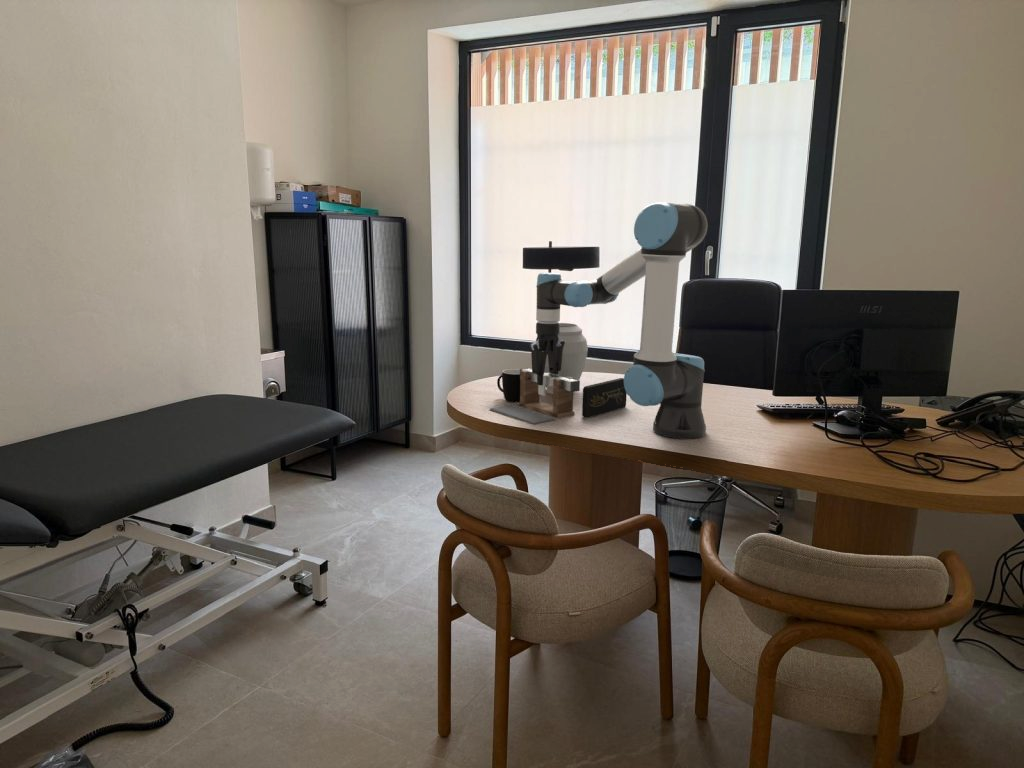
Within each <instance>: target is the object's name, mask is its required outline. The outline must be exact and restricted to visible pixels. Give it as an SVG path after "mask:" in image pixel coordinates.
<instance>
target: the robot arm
mask: <svg viewBox="0 0 1024 768" xmlns="http://www.w3.org/2000/svg"><path fill="white" fill-rule="evenodd" d="M638 213H639V214H638V215H637V217H636V219H635V222H634V226H633V234H634V238H635V240H636V241H637V244H638V245H639V246H640V248H638V249H637V250H636V251H634V252H633V253H631V254H630V255H629V256H627V257H626V258H625V259H623V260H622V261H620V262H619V263H617V264H616V265H615V266H613V267H612V268H610V269H609V270H608V271H606V272H605V273H603V274H602V275H601V276H599V277H598V278H596V279H592V280H562V275H561V273H559V272H558V273H557V272H541V273H538V274H537V281H536V310H535V311H536V312H535V313H536V315H535V319H536V321H537V322H536V324H535V333H536V335H537V336H536V338H537V339H536V338H535V342H533V343H529V349H530V352H531V354H530V355H531V369H532V373H534V374H537V384H538V394H540V396H543V397H544V396H546V395H547V394H551V395H553V387H552V386H549V385H547V388H546V375H544V371H545V364H546V357H547V354H548V363H549V372H550V373H549V374H553V375H556V374H558V371H561V364H562V353H563V347H564V344H565V342H564V341H561V340H559V338H558V334H559V331H560V324H559V323H560V320H561V305H562V306H568V307H573V308H584V307H587V306H589V305H606V304H610V303H613V302H614V301H617V298H618V296H619V293H621V292H623V291H625V290H626V289H627V288H629V287H630V286H632V285H633V284H635V283H636V282H638V281H640V280H641V279H642V278H644V289H643V304H642V318H641V332H640V344H639V345H640V346H639V350H638V351H636V352H635V353H634V354H633V361H632V362H633V364H632V365H631V366H630V367H628V369H627V370H626V371H625V373H624V376H623V378H624V387H625V390H626V393H627V396H629V399H630V400H631V402H634V403H635V404H636V405H638V406H642V407H650V406H651V407H655V406H658V405H659V407H658V410H657V412H656V415H655V418H654V420H653V421H652V422H653V423H652V431H653V432H654V433H655V434H657V435H660V436H663V437H668V438H673V439H685V440H687V439H697V438H698V439H699V438H702V437H704V436H706V434H707V433H706V431H707V425H706V423H705V418H704V414H703V410H702V409H703V408H702V403H703V402H702V401H703V390H704V377H705V372H706V371H705V361H704V359H703V358H702V357H701V356H698V355H697V356H696V355H691V354H685V353H677V352H675V353H674V352H673V342H674V329H675V328H674V327H675V318H676V317H675V316H676V307H677V306H676V303H677V294H678V292H677V291H678V281H679V271H680V264H681V261H682V260H683V259H685V258H686V255H687V253H688V252H690V251H692V250H694V249H695V248H696V247H697V246H698V245H700V244H701V243H702V242H703V240H704V238H705V236H706V235H707V231H708V225H709V224H708V219H707V216H706V214H705V213H704V212H703V211H702V209H701V208H699V207H698V206H696V205H693V204H691V203H690V204H689V203H675V202H665V201H664V202H663V201H662V202H655V203H651V204H648V205H647V206H645V207H644V208H643V209H642V210H641V211H640V212H638ZM538 346H539V347H538ZM543 351H544V352H543ZM557 366H558V367H557Z"/></svg>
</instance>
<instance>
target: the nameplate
mask: <svg viewBox="0 0 1024 768" xmlns="http://www.w3.org/2000/svg"><path fill="white" fill-rule="evenodd" d="M627 396H628V395H627V393H626V390H625V387H624V377H619V378H615V379H610V380H607V381H603V382H598V383H594V384H590V385H586V386H583V387H582V401H581V403H582V404H581V405H582V406H581V407H582V408H581V416H582V417H583V418H586V419H589V418H590V419H591V418H592V417H597V416H599V415H600V416H601V415H604V414H607V413H611V412H615V411H617V410H622V409H625V408H626V406H627Z"/></svg>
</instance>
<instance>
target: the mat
mask: <svg viewBox="0 0 1024 768" xmlns="http://www.w3.org/2000/svg"><path fill="white" fill-rule="evenodd" d="M489 411H492V412H495V413H498V414H501V415H503V416H507V417H509V418H513V419H515V420H518V421H521V422H525V423H528V424H531V425H533V426H536V425H540V424H545V423H549V422H554V421H557V418H556V417H553V416H550V415H547V414H544V413H540V412H537V411H534V410H531V409H528V408H524V407H521V406H517V405H515V404H506V405H500V406H495V407H494V406H493V407H490V408H489Z"/></svg>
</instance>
